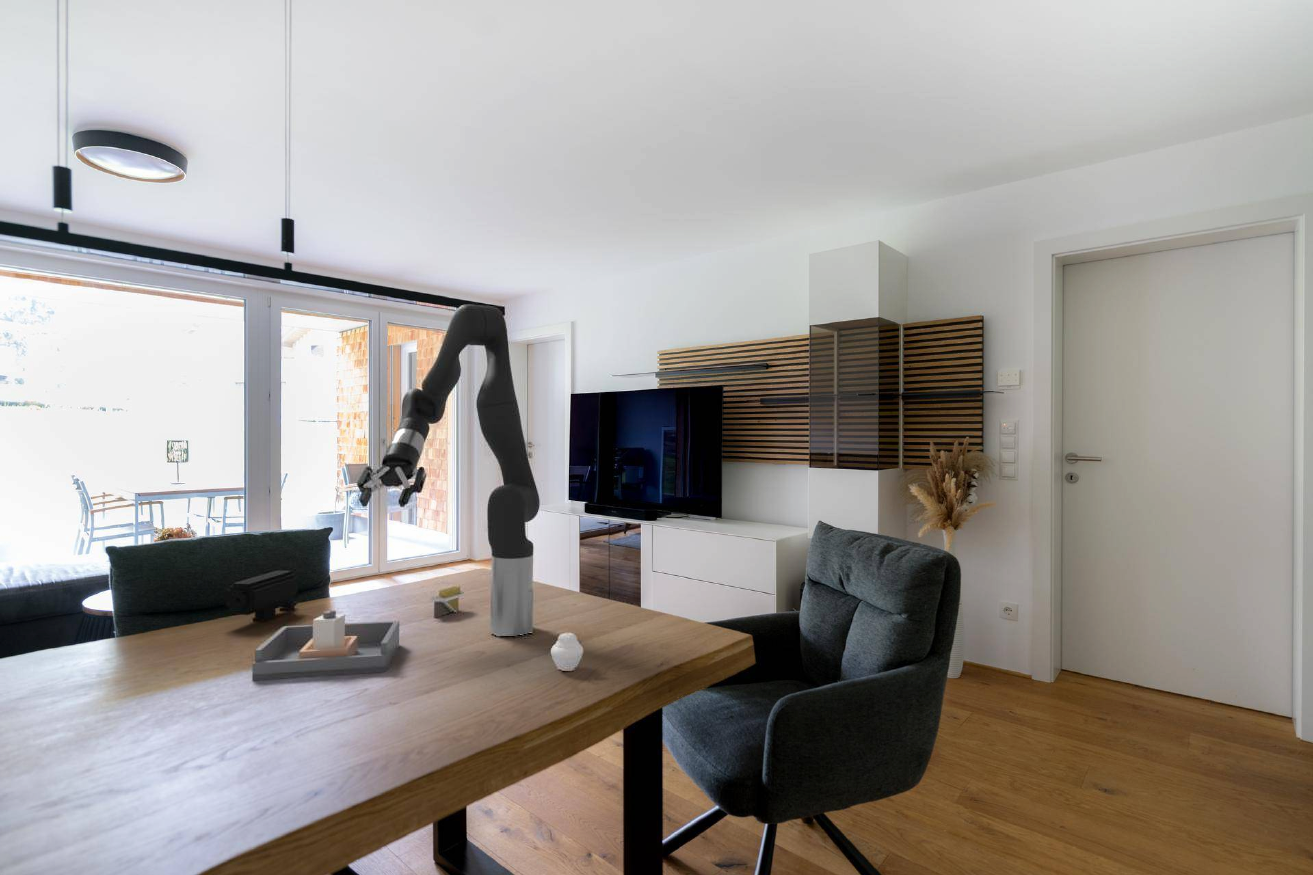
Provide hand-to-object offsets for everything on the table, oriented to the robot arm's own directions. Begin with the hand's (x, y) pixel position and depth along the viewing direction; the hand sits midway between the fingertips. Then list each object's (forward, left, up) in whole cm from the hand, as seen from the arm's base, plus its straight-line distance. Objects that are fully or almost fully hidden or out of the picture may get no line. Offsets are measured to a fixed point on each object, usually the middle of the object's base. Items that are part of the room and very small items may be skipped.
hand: (382, 504), depth 142 cm
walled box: (+6, +17, -28) cm, 34 cm away
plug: (+6, +19, -27) cm, 34 cm away
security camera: (+28, -17, -29) cm, 44 cm away
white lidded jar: (-38, +30, -29) cm, 57 cm away
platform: (-13, -13, -29) cm, 35 cm away
